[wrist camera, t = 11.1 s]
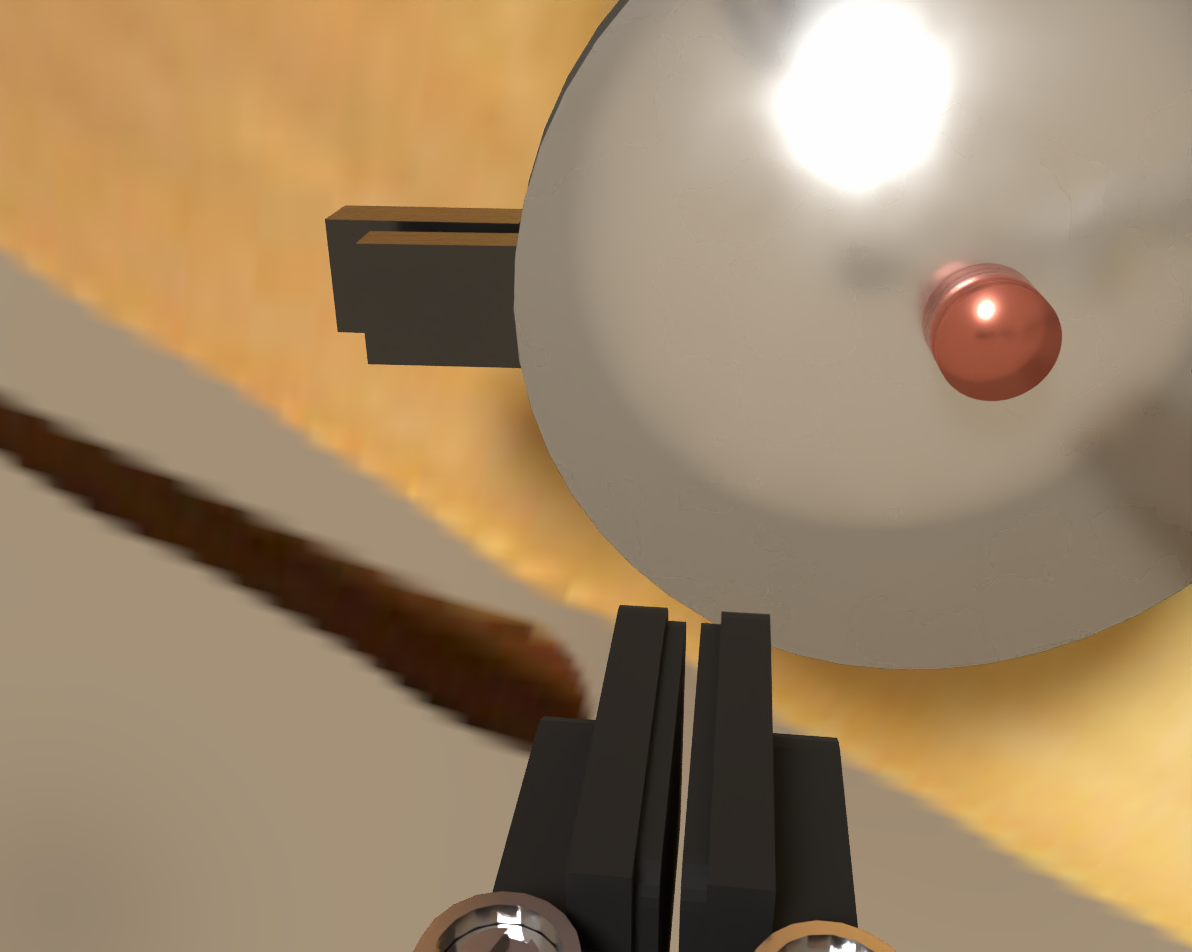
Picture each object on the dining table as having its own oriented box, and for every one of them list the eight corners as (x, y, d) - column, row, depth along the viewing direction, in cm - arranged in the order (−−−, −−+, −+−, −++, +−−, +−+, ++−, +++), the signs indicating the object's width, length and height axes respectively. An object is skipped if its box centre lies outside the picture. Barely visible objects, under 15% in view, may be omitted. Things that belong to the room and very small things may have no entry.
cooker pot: (1292, -155, 31) (1514, -189, 22) (1142, 496, 39) (1256, 662, 30) (404, -141, 34) (277, -166, 25) (448, 463, 42) (366, 606, 33)
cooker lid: (1504, -178, 22) (1619, -194, 19) (1252, 658, 30) (1306, 732, 28) (332, -159, 24) (282, -171, 21) (407, 620, 32) (379, 684, 30)
